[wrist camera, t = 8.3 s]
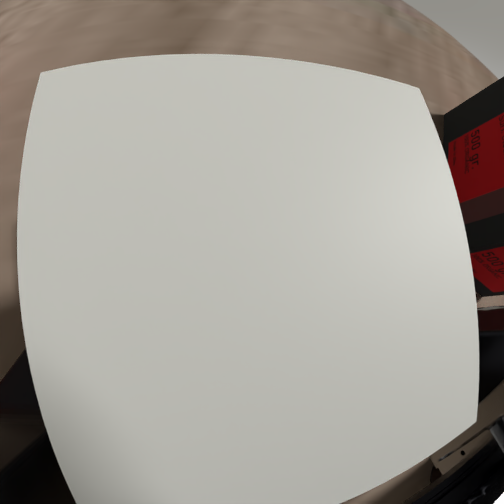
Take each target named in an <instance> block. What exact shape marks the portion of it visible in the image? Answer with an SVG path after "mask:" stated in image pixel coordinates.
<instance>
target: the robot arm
mask: <svg viewBox="0 0 504 504" xmlns="http://www.w3.org/2000/svg"><path fill="white" fill-rule="evenodd" d="M477 316H478V333H479V392H478V408H477V420H476V422H475V423H474V424H473V425H471V426H470V427H469V428H468V429H466V430H465V431H464V432H462V433H461V434H460V435H458V436H457V437H456V438H454V439H453V440H452V441H450V442H449V443H447V444H446V445H445V446H443V447H442V448H440V449H439V450H437V451H436V452H434V453H433V454H431V455H430V456H429V457H430V459H431V460H432V462H433V464H434V466H435V467H436V469H437V468H439V470H440V472H441V473H442V476H441V477H440V478H438V479H437V480H435V481H434V482H433V483H431V484H430V485H429V486H427V487H426V488H424V489H423V490H421V491H420V492H418V493H417V494H415V495H414V496H412V497H411V498H409V499H408V500H406V501H405V502H403V503H401V504H504V308H498V309H491V310H477ZM0 504H76V502H75V500H74V498H73V495H72V493H71V491H70V489H69V487H68V485H67V482H66V480H65V478H64V475H63V473H62V471H61V468H60V466H59V463H58V461H57V458H56V455H55V453H54V450H53V447H52V445H51V442H50V439H49V436H48V433H47V430H46V427H45V424H44V420H43V417H42V414H41V410H40V407H39V403H38V399H37V396H36V392H35V388H34V383H33V379H32V375H31V370H30V365H29V360H28V355H27V349H26V348H25V350H24V351H23V353H22V354H21V355H20V357H19V358H18V359H17V361H16V362H15V363H14V365H13V366H12V367H11V369H10V370H9V371H8V373H7V374H6V375H5V377H4V378H3V379H2V381H1V382H0Z"/></svg>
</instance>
